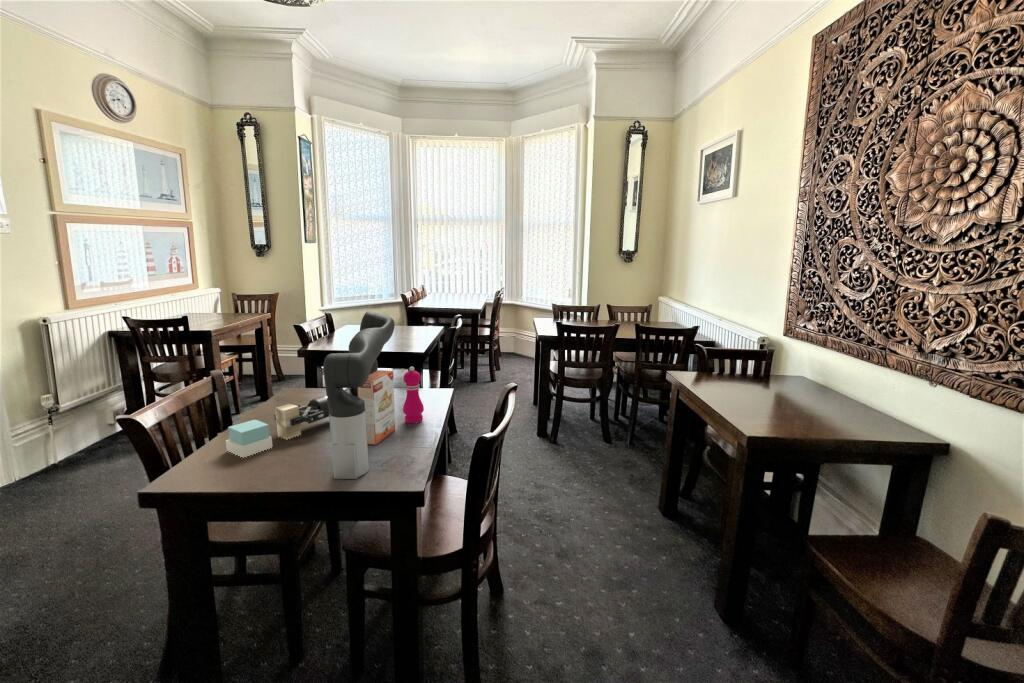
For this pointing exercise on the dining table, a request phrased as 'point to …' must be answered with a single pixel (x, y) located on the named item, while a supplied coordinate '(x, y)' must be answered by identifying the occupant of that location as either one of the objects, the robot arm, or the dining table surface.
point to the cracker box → (378, 405)
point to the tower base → (248, 447)
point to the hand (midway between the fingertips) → (282, 420)
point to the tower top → (249, 432)
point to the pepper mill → (412, 397)
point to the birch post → (287, 421)
